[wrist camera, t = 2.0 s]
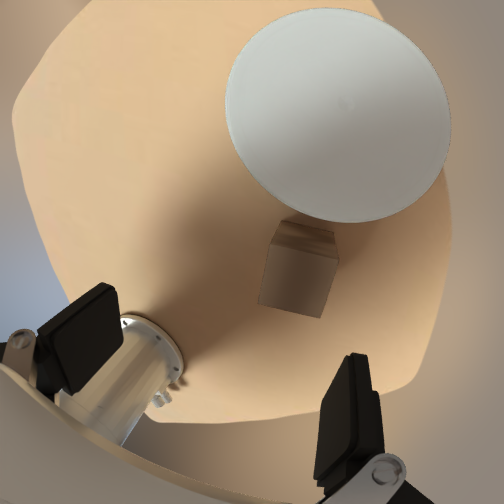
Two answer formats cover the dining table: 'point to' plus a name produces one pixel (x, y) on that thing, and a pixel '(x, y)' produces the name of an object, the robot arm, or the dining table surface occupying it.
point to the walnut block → (299, 269)
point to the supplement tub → (338, 115)
